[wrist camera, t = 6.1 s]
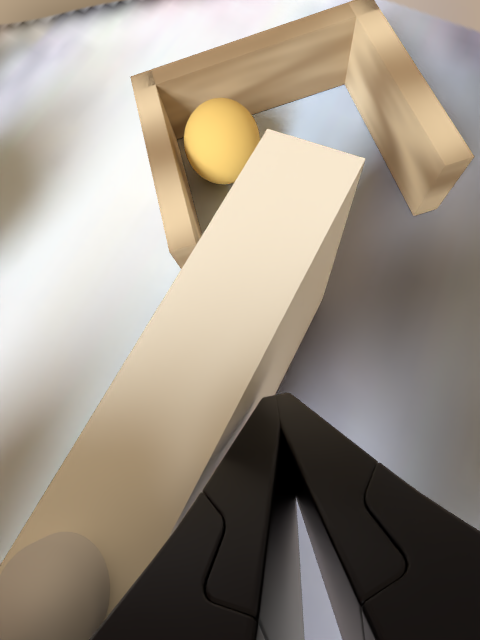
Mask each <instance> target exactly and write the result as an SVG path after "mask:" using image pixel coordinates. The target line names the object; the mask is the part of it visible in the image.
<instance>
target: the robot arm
mask: <svg viewBox="0 0 480 640" xmlns="http://www.w3.org/2000/svg"><path fill="white" fill-rule="evenodd" d="M296 498H297V501H298V504H299V507H300V510H301V514H302V517H303V520H304V523H305V526H306V529H307V532H308V535H309V538H310V541H311V544H312V547H313V550H314V553H315V556H316V560H317V563H318V566H319V569H320V572H321V575H322V578H323V581H324V584H325V587H326V590H327V593H328V596H329V599H330V602H331V605H332V609H333V612H334V615H335V618H336V621H337V624H338V627H339V630H340V633H341V636H342V639H343V640H480V531H479V530H477V529H476V528H474V527H472V526H471V525H469V524H468V523H466V522H464V521H463V520H461V519H460V518H458V517H457V516H455V515H453V514H452V513H450V512H449V511H447V510H446V509H444V508H443V507H441V506H440V505H438V504H437V503H435V502H434V501H432V500H431V499H429V498H428V497H426V496H425V495H423V494H422V493H420V492H419V491H417V490H416V489H415V488H413V487H412V486H410V485H409V484H408V483H406V482H405V481H404V480H402V479H401V478H400V477H398V476H397V475H395V474H394V473H393V472H392V471H390V470H389V469H388V468H386V467H385V466H384V465H383V464H381V463H378V461H377V460H375V459H374V458H373V457H371V456H370V455H369V454H368V453H366V452H365V451H364V450H362V449H361V448H360V447H359V446H357V445H356V444H355V443H354V442H352V441H351V440H350V439H348V438H347V437H346V436H345V435H343V434H342V433H341V432H339V431H338V430H337V429H336V428H334V427H333V426H332V425H330V424H329V423H328V422H327V421H325V420H324V419H323V418H321V417H320V416H319V415H318V414H316V413H315V412H314V411H313V410H311V409H310V408H309V407H307V406H306V405H305V404H304V403H302V402H301V401H300V400H298V399H297V398H296V397H295V396H293V395H292V394H291V393H283V394H278V395H273V396H267V397H263V398H262V399H261V400H260V402H259V403H258V405H257V406H256V408H255V410H254V411H253V413H252V414H251V416H250V417H249V419H248V420H247V422H246V423H245V425H244V427H243V428H242V430H241V431H240V433H239V434H238V436H237V437H236V439H235V440H234V442H233V444H232V445H231V447H230V448H229V450H228V451H227V453H226V454H225V456H224V458H223V459H222V461H221V462H220V464H219V465H218V467H217V468H216V470H215V471H214V473H213V475H212V476H211V478H210V479H209V481H208V482H207V484H206V485H205V487H204V488H203V490H202V492H201V493H200V494H199V495H198V497H197V498H196V500H195V501H194V503H193V504H192V506H191V507H190V509H189V510H188V512H187V513H186V515H185V516H184V518H183V519H182V521H181V522H180V523H179V525H178V526H177V528H176V529H175V531H174V532H173V533H172V535H171V536H170V537H169V539H168V540H167V541H166V543H165V544H164V545H163V546H162V548H161V549H160V550H159V552H158V553H157V554H156V556H155V557H154V558H153V560H152V561H151V562H150V563H149V565H148V566H147V567H146V568H145V570H144V571H143V572H142V573H141V575H140V576H139V577H138V578H137V580H136V581H135V582H134V583H133V585H132V586H131V587H130V589H129V590H128V591H127V592H126V594H125V595H124V596H123V597H122V599H121V600H120V601H119V602H118V604H117V605H116V606H115V607H114V609H113V610H112V611H111V612H110V614H109V615H108V616H107V617H106V619H105V620H104V621H103V622H102V624H101V625H100V626H99V627H98V629H97V630H96V631H95V633H94V634H93V635H92V636H91V638H90V639H89V640H305V639H304V623H303V606H302V589H301V572H300V555H299V539H298V522H297V505H296Z"/></svg>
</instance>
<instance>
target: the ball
mask: <svg viewBox="0 0 480 640" xmlns="http://www.w3.org/2000/svg"><path fill="white" fill-rule="evenodd" d="M259 142H260V136H259V131H258V127H257V124H256V122H255V120H254V118H253V116H252V115H251V114H250V112H249V111H248V110H247V109H246V108H245V107H244V106H243V105H241V104H240V103H238V102H236V101H234V100H231V99H228V98H214V99H210V100H208V101H205V102H204V103H202V104H201V105H199V106H198V107H197V108H196V109H195V110H194V111H193V113H192V114H191V116H190V117H189V119H188V121H187V124H186V127H185V132H184V148H185V152H186V156H187V158H188V161H189V163H190V165H191V166H192V168H193V169H194V170H195V171H196V172H197V174H199V175H200V176H201V177H202V178H204V179H205V180H207V181H209V182H212V183H216V184H230V183H234V182H235V181H236V179H237V178H238V176H239V174H240V173H241V171H242V169H243V168H244V166H245V164H246V163H247V161H248V160H249V158H250V156H251V155H252V153H253V151H254V150H255V148H256V146H257V145H258V143H259Z"/></svg>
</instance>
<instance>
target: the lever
mask: <svg viewBox="0 0 480 640" xmlns="http://www.w3.org/2000/svg"><path fill="white" fill-rule="evenodd" d="M364 162H365V158H362V157H358V156H355V155H352V154H349V153H345V152H342V151H339V150H336V149H332V148H329V147H326V146H323V145H319V144H316V143H313V142H309V141H306V140H303V139H300V138H296V137H293V136H290V135H287V134H283V133H280V132H277V131H273V130H270V129H267V130H266V132H265V133H264V135H263V137H262V138H261V140H260V142H259V143H258V145H257V146H256V148H255V150H254V151H253V153H252V155H251V156H250V158H249V160H248V161H247V163H246V164H245V166H244V168H243V169H242V171H241V173H240V174H239V176H238V178H237V179H236V181H235V182H234V184H233V186H232V187H231V189H230V191H229V192H228V194H227V196H226V197H225V199H224V200H223V202H222V204H221V205H220V207H219V209H218V210H217V212H216V214H215V215H214V217H213V218H212V220H211V222H210V223H209V225H208V227H207V228H206V230H205V231H204V233H203V235H202V236H201V238H200V240H199V241H198V243H197V245H196V246H195V248H194V249H193V251H192V253H191V254H190V256H189V258H188V259H187V261H186V263H185V264H184V266H183V267H182V269H181V271H180V272H179V274H178V276H177V277H176V279H175V281H174V282H173V284H172V285H171V287H170V289H169V290H168V292H167V294H166V295H165V297H164V298H163V300H162V302H161V303H160V305H159V307H158V308H157V310H156V312H155V313H154V315H153V316H152V318H151V320H150V321H149V323H148V325H147V326H146V328H145V330H144V331H143V333H142V334H141V336H140V338H139V339H138V341H137V343H136V344H135V346H134V348H133V349H132V351H131V352H130V354H129V356H128V357H127V359H126V361H125V362H124V364H123V366H122V367H121V369H120V370H119V372H118V374H117V375H116V377H115V379H114V380H113V382H112V383H111V385H110V387H109V388H108V390H107V392H106V393H105V395H104V397H103V398H102V400H101V401H100V403H99V405H98V406H97V408H96V410H95V411H94V413H93V415H92V416H91V418H90V419H89V421H88V423H87V424H86V426H85V428H84V429H83V431H82V433H81V434H80V436H79V437H78V439H77V441H76V442H75V444H74V446H73V447H72V449H71V450H70V452H69V454H68V455H67V457H66V459H65V460H64V462H63V464H62V465H61V467H60V468H59V470H58V472H57V473H56V475H55V477H54V478H53V480H52V482H51V483H50V485H49V486H48V488H47V490H46V491H45V493H44V495H43V496H42V498H41V500H40V501H39V503H38V504H37V506H36V508H35V509H34V511H33V513H32V514H31V516H30V518H29V519H28V521H27V522H26V524H25V526H24V527H23V529H22V531H21V532H20V534H19V535H18V537H17V539H16V540H15V542H14V544H13V545H12V547H11V549H10V550H9V552H8V553H7V555H6V557H5V558H4V560H3V562H2V563H1V565H0V640H89V639H90V638H91V636H92V635H93V634H94V633H95V631H96V630H97V629H98V627H99V626H100V625H101V624H102V622H103V621H104V620H105V619H106V617H107V616H108V615H109V614H110V612H111V611H112V610H113V609H114V607H115V606H116V605H117V604H118V602H119V601H120V600H121V599H122V597H123V596H124V595H125V594H126V592H127V591H128V590H129V589H130V587H131V586H132V585H133V583H134V582H135V581H136V580H137V578H138V577H139V576H140V575H141V573H142V572H143V571H144V570H145V568H146V567H147V566H148V565H149V563H150V562H151V561H152V560H153V558H154V557H155V556H156V554H157V553H158V552H159V550H160V549H161V548H162V546H163V545H164V544H165V543H166V541H167V540H168V539H169V537H170V536H171V535H172V533H173V532H174V531H175V529H176V528H177V526H178V525H179V523H180V522H181V521H182V519H183V518H184V516H185V515H186V513H187V512H188V510H189V509H190V507H191V506H192V504H193V503H194V501H195V500H196V498H197V497H198V495H199V494H200V493H201V492H202V490H203V488H204V487H205V485H206V484H207V482H208V481H209V479H210V478H211V476H212V475H213V473H214V471H215V470H216V468H217V467H218V465H219V464H220V462H221V461H222V459H223V458H224V456H225V454H226V453H227V451H228V450H229V448H230V447H231V445H232V444H233V442H234V440H235V439H236V437H237V436H238V434H239V433H240V431H241V430H242V428H243V427H244V425H245V423H246V422H247V420H248V419H249V417H250V416H251V414H252V413H253V411H254V410H255V408H256V406H257V405H258V403H259V402H260V400H261V399H262V398H263V397H267V396H273V395H275V394H276V392H277V390H278V388H279V386H280V384H281V382H282V380H283V378H284V376H285V374H286V372H287V370H288V368H289V366H290V364H291V362H292V360H293V358H294V356H295V354H296V352H297V349H298V347H299V345H300V343H301V341H302V339H303V337H304V335H305V333H306V331H307V329H308V327H309V325H310V323H311V321H312V319H313V317H314V315H315V313H316V311H317V309H318V307H319V305H320V303H321V301H322V299H323V296H324V293H325V289H326V286H327V283H328V280H329V276H330V273H331V270H332V267H333V263H334V260H335V257H336V254H337V250H338V247H339V244H340V241H341V237H342V234H343V231H344V227H345V224H346V221H347V218H348V214H349V211H350V208H351V205H352V201H353V198H354V195H355V192H356V188H357V185H358V182H359V179H360V175H361V172H362V169H363V165H364Z"/></svg>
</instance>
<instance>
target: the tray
mask: <svg viewBox="0 0 480 640" xmlns="http://www.w3.org/2000/svg"><path fill="white" fill-rule="evenodd" d="M131 81H132V86H133V90H134V95H135V99H136V104H137V108H138V113H139V117H140V122H141V126H142V131H143V135H144V140H145V144H146V149H147V153H148V158H149V162H150V167H151V171H152V176H153V180H154V185H155V189H156V194H157V198H158V203H159V207H160V212H161V216H162V221H163V225H164V230H165V234H166V239H167V243H168V248H169V252H170V253H171V255H172V256H173V258H174V259H175V261H176V262H177V263H178V265H179V266H180V268H181V269H182V267H183V266H184V264H185V263H186V261H187V259H188V258H189V256H190V254H191V253H192V251H193V249H194V248H195V246H196V245H197V243H198V241H199V240H200V238H201V236H202V233H201V229H200V225H199V221H198V218H197V214H196V210H195V206H194V203H193V199H192V195H191V191H190V188H189V184H188V180H187V176H186V172H185V169H184V165H183V161H182V157H181V154H180V150H179V146H178V142H177V139H180V138H183V137H184V132H185V127H186V124H187V121H188V119H189V117H190V116H191V114H192V113H193V111H194V110H195V109H196V108H197V107H198V106H199V105H201V104H202V103H204V102H205V101H208V100H210V99H214V98H228V99H231V100H234V101H236V102H238V103H240V104H241V105H243V106H244V107H245V108H246V109H247V110H248V111H249V112H250V114H251V115H252V114H255V113H258V112H262V111H265V110H268V109H271V108H274V107H277V106H280V105H283V104H286V103H289V102H292V101H295V100H298V99H301V98H304V97H307V96H310V95H313V94H316V93H319V92H322V91H325V90H328V89H331V88H334V87H337V86H340V85H343V84H345V86H346V88H347V90H348V92H349V93H350V95H351V97H352V99H353V101H354V103H355V105H356V107H357V109H358V111H359V113H360V114H361V116H362V118H363V120H364V122H365V124H366V126H367V128H368V130H369V132H370V134H371V135H372V137H373V139H374V141H375V143H376V145H377V147H378V149H379V151H380V153H381V155H382V157H383V158H384V160H385V162H386V164H387V166H388V168H389V170H390V172H391V174H392V176H393V178H394V179H395V181H396V183H397V185H398V187H399V189H400V191H401V193H402V195H403V197H404V199H405V200H406V202H407V204H408V206H409V208H410V210H411V212H412V214H413V216H416V215H419V214H422V213H425V212H429V211H432V210H435V209H437V208H438V207H439V205H440V204H441V202H442V201H443V200H444V198H445V197H446V195H447V194H448V193H449V191H450V190H451V188H452V187H453V186H454V184H455V183H456V181H457V180H458V179H459V177H460V176H461V175H462V173H463V172H464V170H465V169H466V168H467V166H468V165H469V163H470V162H471V161H472V159H473V158H474V155H473V154H472V152H471V151H470V149H469V148H468V146H467V144H466V143H465V141H464V140H463V138H462V137H461V135H460V134H459V132H458V130H457V129H456V127H455V126H454V124H453V123H452V121H451V120H450V118H449V116H448V115H447V113H446V112H445V110H444V109H443V107H442V106H441V104H440V102H439V101H438V99H437V98H436V96H435V95H434V93H433V91H432V90H431V88H430V87H429V85H428V84H427V82H426V81H425V79H424V77H423V76H422V74H421V73H420V71H419V70H418V68H417V67H416V65H415V63H414V62H413V60H412V59H411V57H410V56H409V54H408V52H407V51H406V49H405V48H404V46H403V45H402V43H401V42H400V40H399V38H398V37H397V35H396V34H395V32H394V31H393V29H392V28H391V26H390V24H389V23H388V21H387V20H386V18H385V17H384V15H383V13H382V12H381V10H380V9H379V7H378V6H377V4H376V3H375V1H374V0H353V1H351V2H348V3H345V4H342V5H339V6H336V7H333V8H330V9H327V10H324V11H321V12H318V13H315V14H313V15H310V16H307V17H304V18H301V19H298V20H295V21H292V22H289V23H286V24H283V25H280V26H277V27H274V28H272V29H269V30H266V31H263V32H260V33H257V34H254V35H251V36H248V37H245V38H242V39H239V40H236V41H233V42H231V43H228V44H225V45H222V46H219V47H216V48H213V49H210V50H207V51H204V52H201V53H198V54H195V55H192V56H190V57H187V58H184V59H181V60H178V61H175V62H172V63H169V64H166V65H163V66H160V67H157V68H154V69H152V70H149V71H146V72H143V73H140V74H137V75H134V76H131Z"/></svg>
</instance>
